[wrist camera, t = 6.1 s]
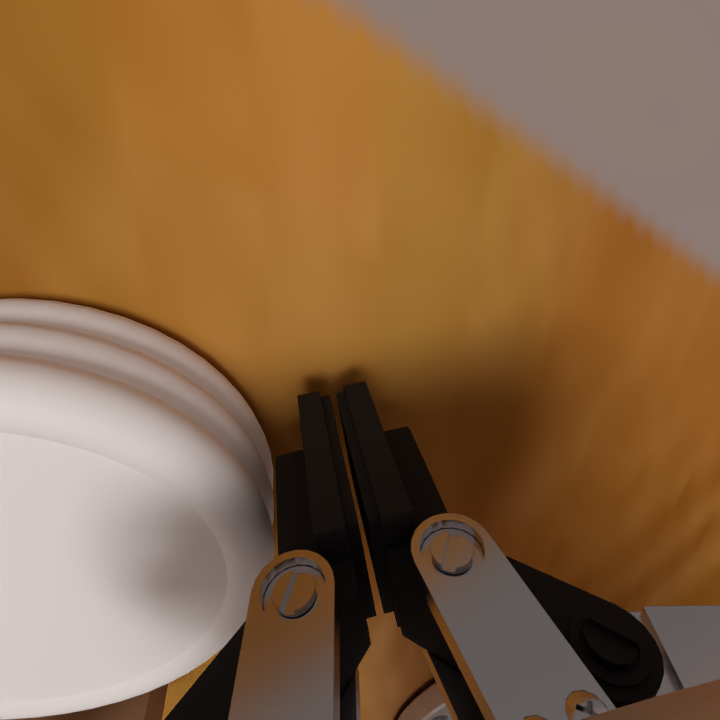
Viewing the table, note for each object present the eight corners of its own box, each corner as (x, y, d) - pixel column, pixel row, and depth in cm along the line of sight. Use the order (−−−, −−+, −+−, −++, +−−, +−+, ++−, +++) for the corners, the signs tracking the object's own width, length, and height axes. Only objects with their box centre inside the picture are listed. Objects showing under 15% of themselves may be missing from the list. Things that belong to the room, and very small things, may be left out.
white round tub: (41, 187, 8) (-89, 231, 5) (340, 476, 13) (363, 584, 10) (-290, 464, 9) (-548, 628, 6) (96, 630, 14) (51, 765, 12)
